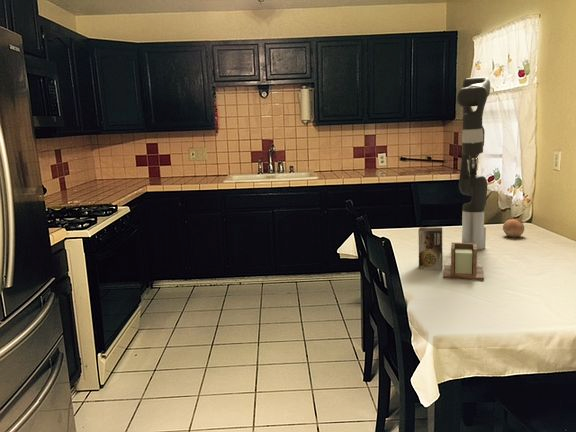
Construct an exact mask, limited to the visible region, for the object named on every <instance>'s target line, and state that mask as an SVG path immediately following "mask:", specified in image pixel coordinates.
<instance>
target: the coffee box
mask: <svg viewBox="0 0 576 432" xmlns="http://www.w3.org/2000/svg"><path fill="white" fill-rule="evenodd" d="M417 231H418V233H417V234H418V270H426V271H427V270H428V271H429V270H430V271H431V270H432V271H443V268H444V267H443V227H441V226H440V227H439V226H433V227H432V226H431V227H430V226H420V227H419V228H418V230H417Z"/></svg>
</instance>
